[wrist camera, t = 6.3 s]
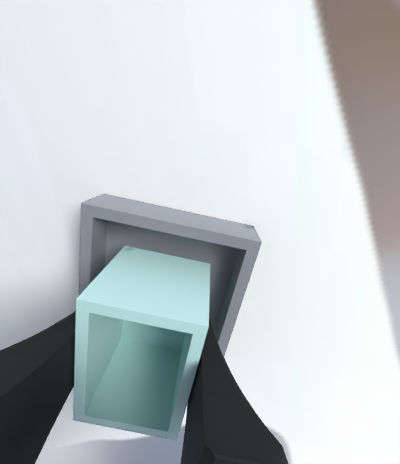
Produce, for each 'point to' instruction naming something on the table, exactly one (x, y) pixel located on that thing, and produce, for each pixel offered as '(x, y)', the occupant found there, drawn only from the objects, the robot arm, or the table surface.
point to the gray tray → (172, 248)
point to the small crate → (140, 341)
